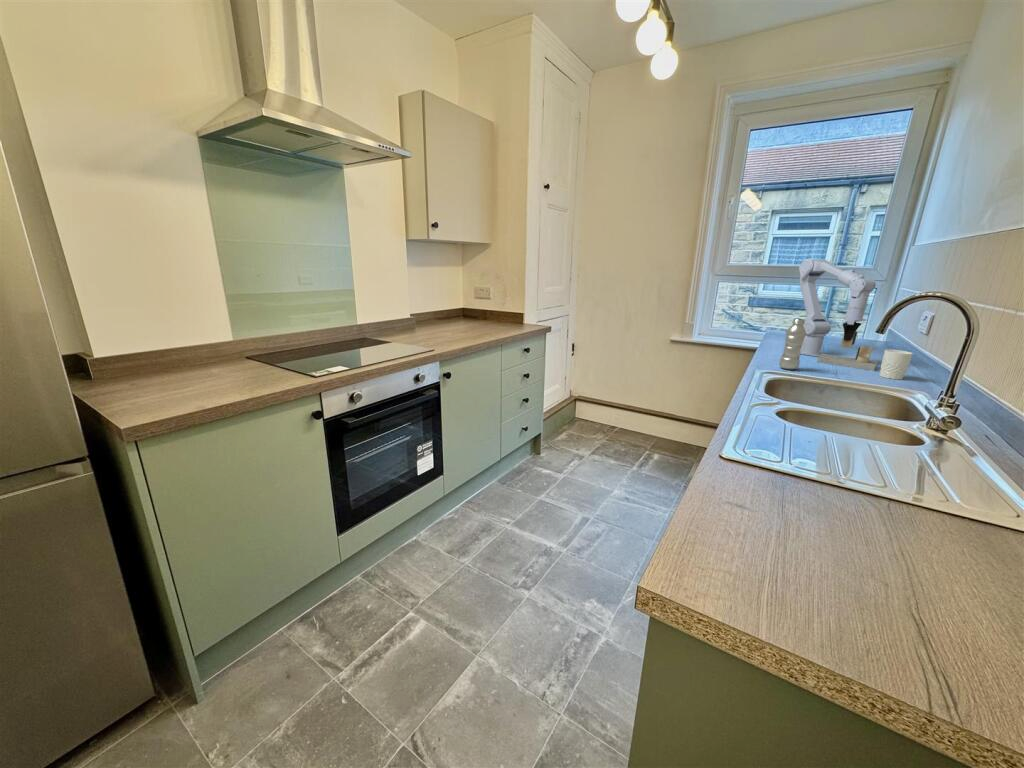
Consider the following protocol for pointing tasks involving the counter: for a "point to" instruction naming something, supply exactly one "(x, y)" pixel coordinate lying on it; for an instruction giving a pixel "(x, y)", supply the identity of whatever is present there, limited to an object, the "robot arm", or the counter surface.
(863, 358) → the tan upright block
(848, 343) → the loose finger
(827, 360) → the rail
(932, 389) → the counter surface
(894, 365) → the white cup
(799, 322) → the plastic bottle
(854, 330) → the robot arm
